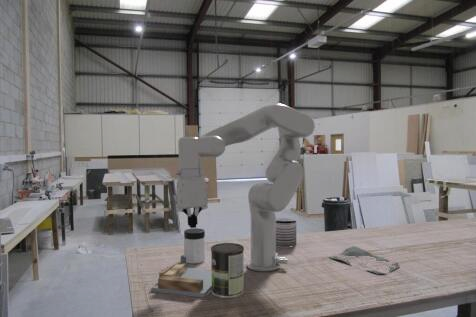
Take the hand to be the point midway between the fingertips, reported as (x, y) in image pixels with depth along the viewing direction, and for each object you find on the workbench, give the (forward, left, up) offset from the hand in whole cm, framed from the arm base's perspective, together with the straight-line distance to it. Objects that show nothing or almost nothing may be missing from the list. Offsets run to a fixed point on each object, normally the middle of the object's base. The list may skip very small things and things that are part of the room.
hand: (192, 227), depth 124 cm
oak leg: (+5, +3, -17) cm, 18 cm away
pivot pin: (+6, -4, -17) cm, 18 cm away
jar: (+8, -19, -18) cm, 28 cm away
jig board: (0, +3, -18) cm, 18 cm away
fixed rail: (0, +11, -17) cm, 20 cm away
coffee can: (-14, +6, -18) cm, 24 cm away
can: (-23, -51, -18) cm, 59 cm away
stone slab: (-58, -34, -19) cm, 70 cm away
